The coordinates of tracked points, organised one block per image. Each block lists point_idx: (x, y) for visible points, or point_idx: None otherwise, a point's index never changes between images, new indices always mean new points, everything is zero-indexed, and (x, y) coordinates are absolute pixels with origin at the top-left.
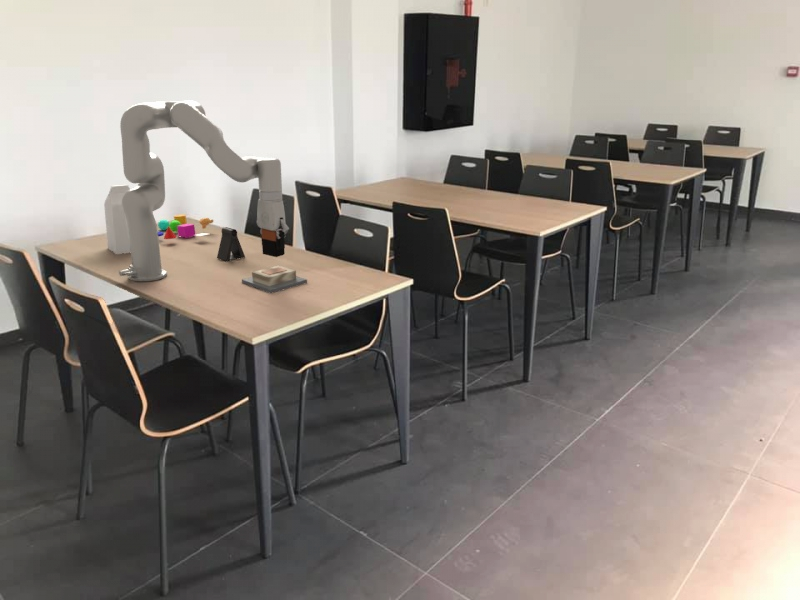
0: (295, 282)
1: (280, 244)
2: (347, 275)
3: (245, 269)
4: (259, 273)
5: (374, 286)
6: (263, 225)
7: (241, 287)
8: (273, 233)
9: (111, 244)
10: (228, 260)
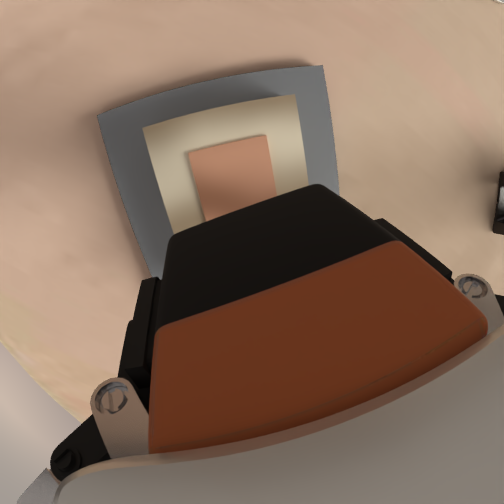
0: (145, 252)
1: (127, 339)
2: None
3: (436, 174)
4: (247, 115)
5: (77, 399)
6: (481, 428)
7: (255, 34)
8: (174, 418)
9: None
10: (500, 180)
